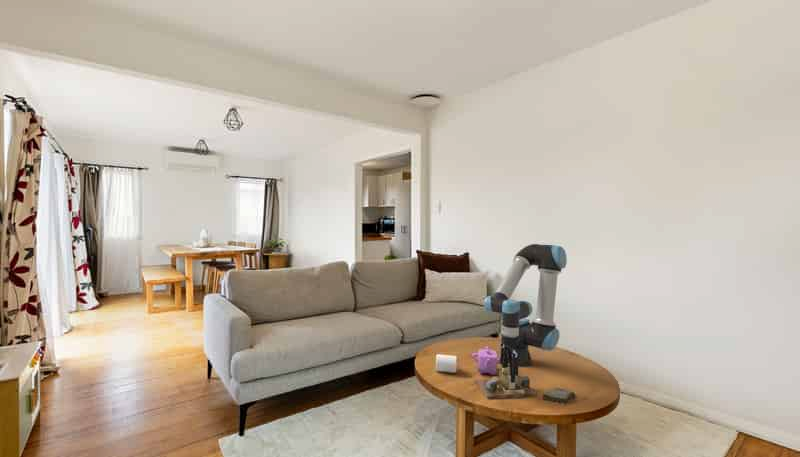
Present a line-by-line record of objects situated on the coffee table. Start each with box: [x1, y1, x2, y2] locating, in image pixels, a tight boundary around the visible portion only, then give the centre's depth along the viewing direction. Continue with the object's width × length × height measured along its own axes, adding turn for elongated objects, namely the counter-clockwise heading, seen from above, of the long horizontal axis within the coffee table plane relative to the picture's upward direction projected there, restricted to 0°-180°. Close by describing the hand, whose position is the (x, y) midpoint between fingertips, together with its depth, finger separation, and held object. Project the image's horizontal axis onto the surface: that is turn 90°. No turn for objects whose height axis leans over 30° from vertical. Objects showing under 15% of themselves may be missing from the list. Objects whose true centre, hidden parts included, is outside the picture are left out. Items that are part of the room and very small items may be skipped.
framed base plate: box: [474, 376, 538, 400], centre depth 165 cm, size 23×15×3 cm, turn 99°
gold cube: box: [498, 369, 519, 390], centre depth 165 cm, size 6×6×6 cm
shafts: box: [486, 375, 531, 392], centre depth 164 cm, size 22×6×4 cm, turn 99°
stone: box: [541, 387, 576, 405], centre depth 159 cm, size 15×8×3 cm, turn 128°
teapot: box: [471, 345, 500, 376], centre depth 184 cm, size 15×13×11 cm
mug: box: [435, 353, 458, 374], centre depth 185 cm, size 12×10×8 cm
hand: (508, 385), depth 166 cm, fingers closed on gold cube, 6 cm apart
